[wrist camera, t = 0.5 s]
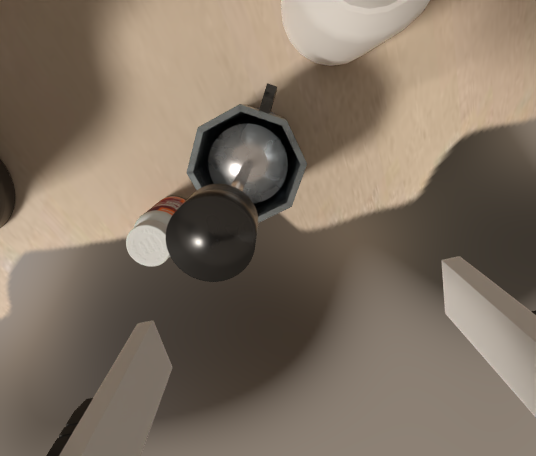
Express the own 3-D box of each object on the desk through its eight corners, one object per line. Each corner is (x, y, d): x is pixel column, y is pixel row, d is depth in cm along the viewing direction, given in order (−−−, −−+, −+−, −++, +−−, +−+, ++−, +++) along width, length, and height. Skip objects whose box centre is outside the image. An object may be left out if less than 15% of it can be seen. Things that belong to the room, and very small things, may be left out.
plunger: (201, 188, 38) (102, 293, 16) (221, 112, 35) (134, 116, 13) (273, 211, 38) (270, 341, 17) (298, 138, 36) (333, 182, 14)
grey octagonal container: (201, 180, 47) (176, 204, 35) (229, 75, 43) (211, 62, 31) (280, 205, 48) (282, 237, 36) (315, 106, 44) (330, 104, 32)
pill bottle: (194, 194, 48) (171, 218, 37) (199, 235, 50) (179, 269, 39) (151, 196, 48) (116, 221, 37) (158, 237, 50) (126, 271, 39)
